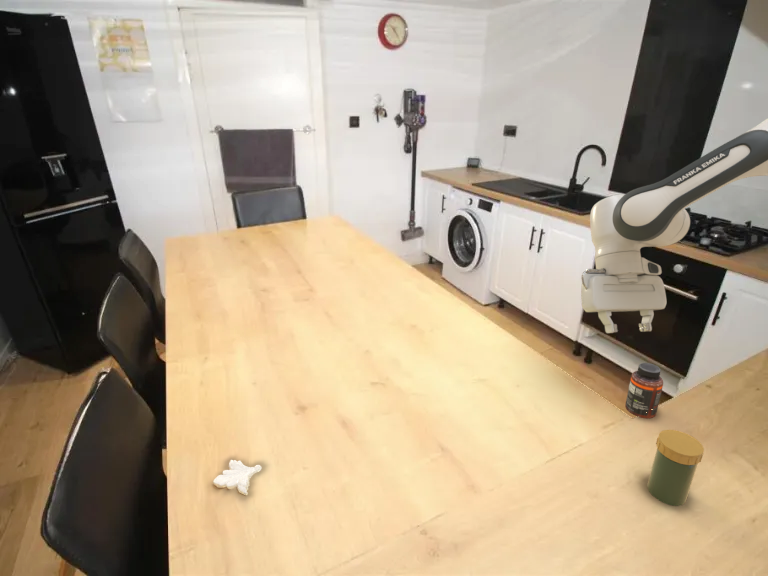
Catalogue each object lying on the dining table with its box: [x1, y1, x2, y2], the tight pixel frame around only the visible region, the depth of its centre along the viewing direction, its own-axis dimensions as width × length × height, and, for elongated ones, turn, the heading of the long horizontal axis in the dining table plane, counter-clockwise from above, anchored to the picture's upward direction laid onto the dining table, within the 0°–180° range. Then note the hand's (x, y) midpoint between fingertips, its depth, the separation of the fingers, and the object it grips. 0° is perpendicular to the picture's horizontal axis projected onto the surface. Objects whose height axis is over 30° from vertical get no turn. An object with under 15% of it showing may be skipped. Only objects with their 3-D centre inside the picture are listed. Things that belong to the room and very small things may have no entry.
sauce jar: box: [646, 447, 699, 507], centre depth 68 cm, size 6×6×11 cm
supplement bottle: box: [624, 362, 664, 419], centre depth 89 cm, size 6×6×11 cm
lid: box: [655, 429, 705, 465], centre depth 67 cm, size 6×6×2 cm
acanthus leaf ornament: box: [212, 459, 263, 496], centre depth 75 cm, size 8×7×2 cm
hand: (629, 332), depth 87 cm, fingers open, 8 cm apart
